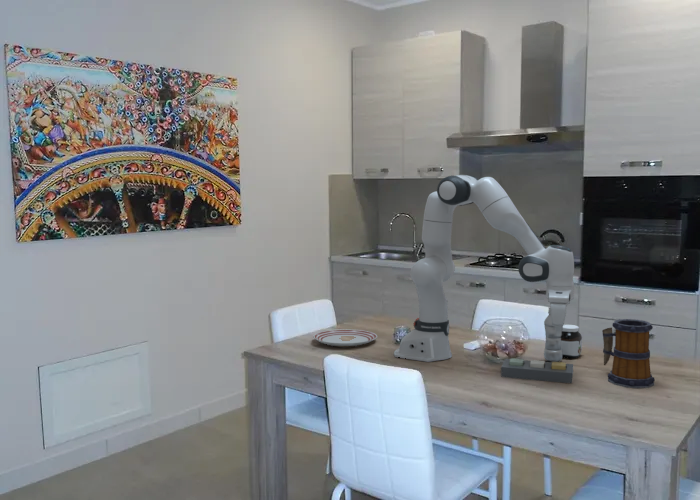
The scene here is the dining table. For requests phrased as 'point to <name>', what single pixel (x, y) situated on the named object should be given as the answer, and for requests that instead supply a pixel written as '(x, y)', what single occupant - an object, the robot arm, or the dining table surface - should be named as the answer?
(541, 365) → the cream key
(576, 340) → the spread jar
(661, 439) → the dining table surface
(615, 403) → the dining table surface
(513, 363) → the sage-green key
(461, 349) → the dining table surface
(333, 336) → the dinner plate
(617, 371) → the mug
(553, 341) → the plastic bottle
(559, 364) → the ochre key
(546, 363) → the keypad
